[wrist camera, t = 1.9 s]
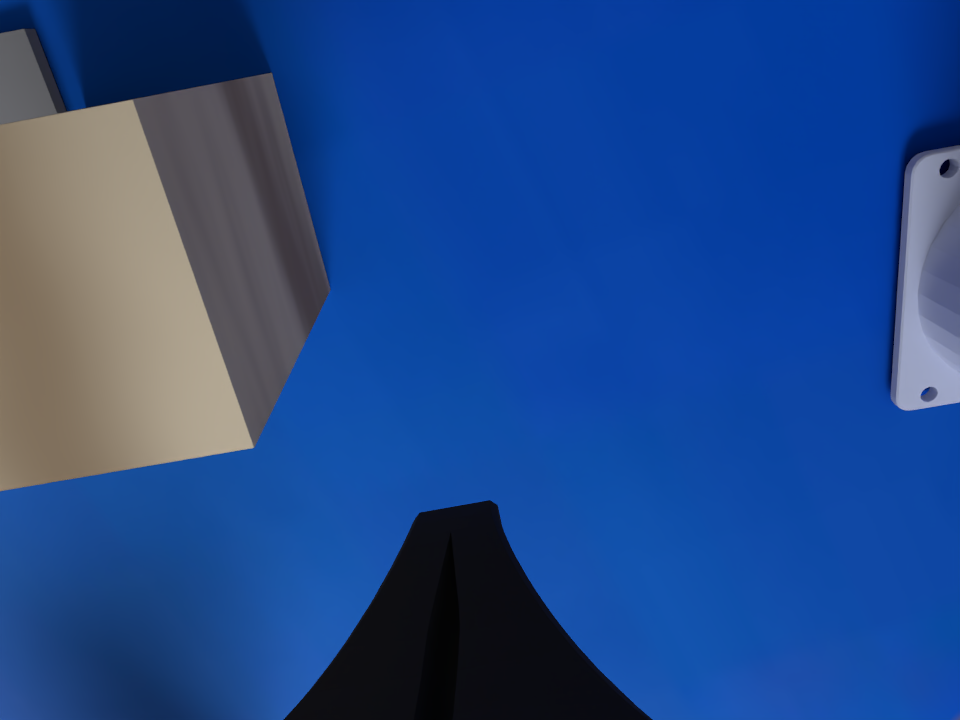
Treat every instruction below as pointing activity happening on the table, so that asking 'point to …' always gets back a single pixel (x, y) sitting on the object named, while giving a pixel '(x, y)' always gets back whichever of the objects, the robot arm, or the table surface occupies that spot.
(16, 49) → the mat
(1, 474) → the maple block
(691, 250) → the table surface
